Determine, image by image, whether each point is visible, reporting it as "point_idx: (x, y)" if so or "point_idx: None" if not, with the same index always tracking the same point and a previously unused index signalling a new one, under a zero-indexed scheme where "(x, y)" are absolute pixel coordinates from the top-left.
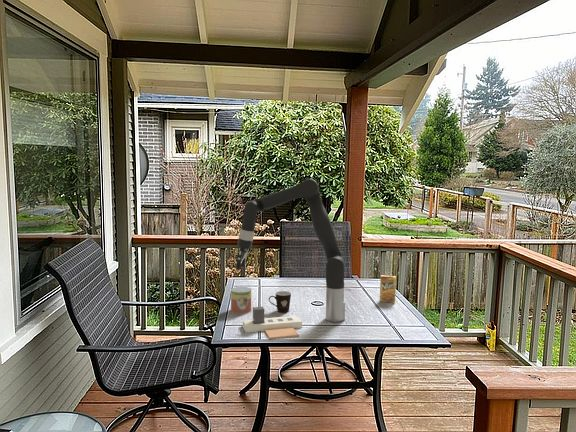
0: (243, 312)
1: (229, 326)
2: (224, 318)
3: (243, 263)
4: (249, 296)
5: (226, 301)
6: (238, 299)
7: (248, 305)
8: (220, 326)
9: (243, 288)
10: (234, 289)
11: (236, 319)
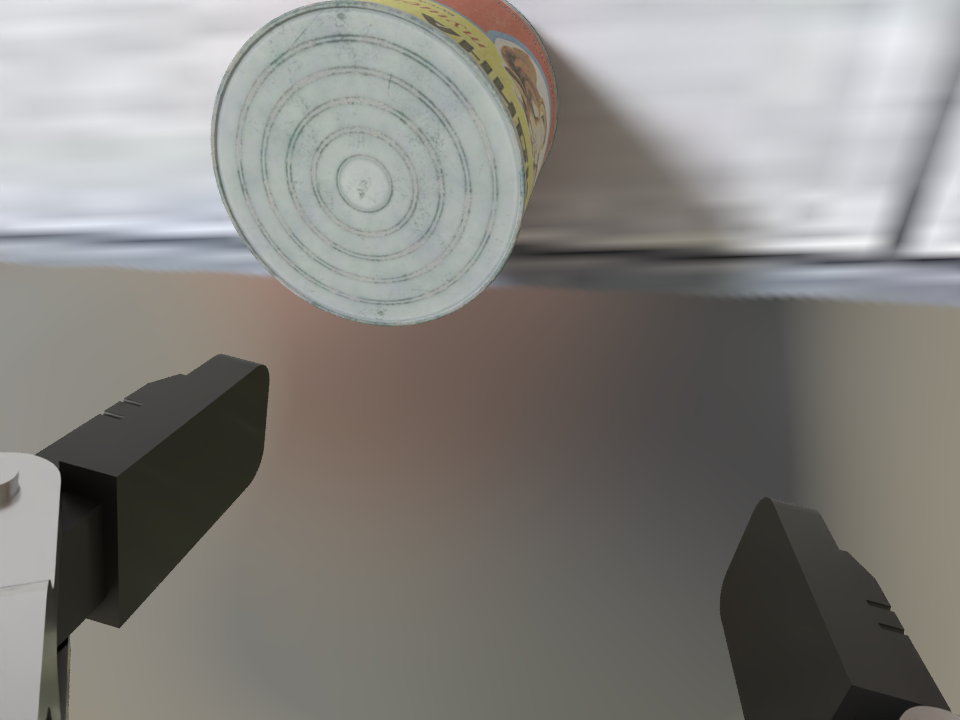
0: (550, 78)
1: (950, 211)
2: (679, 268)
3: (211, 437)
4: (459, 23)
5: (180, 267)
6: (532, 185)
7: (502, 23)
8: (917, 296)
9: (294, 149)
10: (366, 278)
11: (733, 147)
